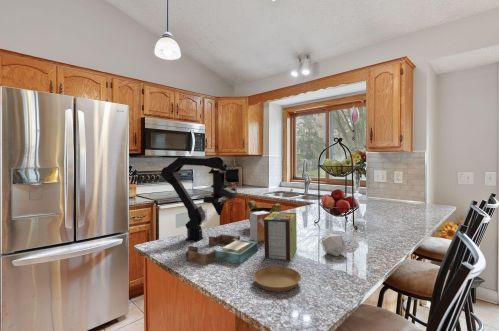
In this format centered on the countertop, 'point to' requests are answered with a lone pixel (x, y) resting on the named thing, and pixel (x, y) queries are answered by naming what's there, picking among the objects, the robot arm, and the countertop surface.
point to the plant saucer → (277, 278)
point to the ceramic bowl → (262, 208)
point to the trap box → (221, 255)
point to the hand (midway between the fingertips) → (219, 215)
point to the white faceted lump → (334, 244)
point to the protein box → (280, 235)
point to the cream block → (236, 247)
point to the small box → (257, 225)
